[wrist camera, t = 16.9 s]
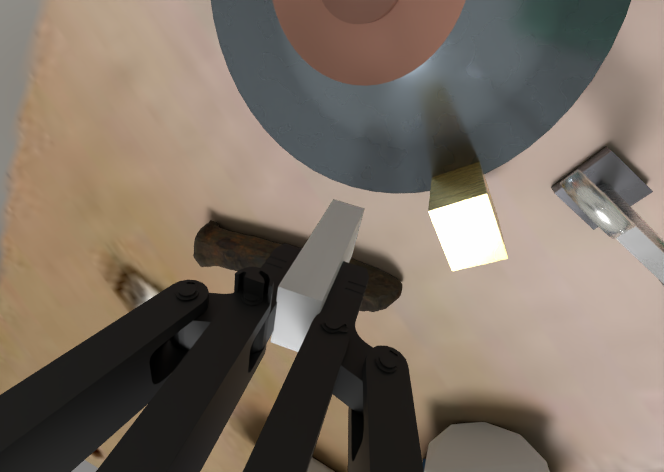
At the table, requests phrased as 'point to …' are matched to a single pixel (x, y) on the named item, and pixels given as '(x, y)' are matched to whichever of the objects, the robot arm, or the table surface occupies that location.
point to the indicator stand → (613, 206)
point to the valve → (481, 451)
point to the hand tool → (253, 252)
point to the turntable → (428, 104)
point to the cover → (367, 35)
